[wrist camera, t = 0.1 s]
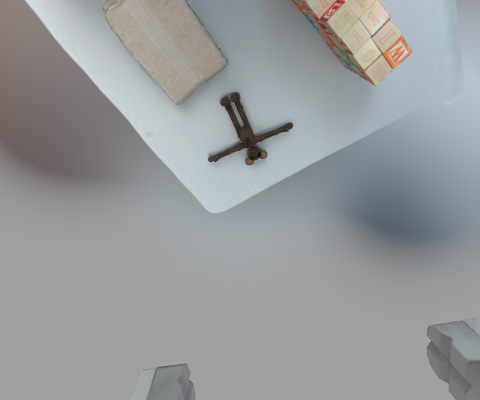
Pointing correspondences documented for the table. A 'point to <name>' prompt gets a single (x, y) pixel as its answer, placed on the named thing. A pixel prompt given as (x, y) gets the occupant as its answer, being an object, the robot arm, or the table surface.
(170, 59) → the washcloth
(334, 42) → the stack of blocks
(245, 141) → the brown toy monkey
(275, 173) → the table surface
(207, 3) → the table surface
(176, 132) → the table surface
